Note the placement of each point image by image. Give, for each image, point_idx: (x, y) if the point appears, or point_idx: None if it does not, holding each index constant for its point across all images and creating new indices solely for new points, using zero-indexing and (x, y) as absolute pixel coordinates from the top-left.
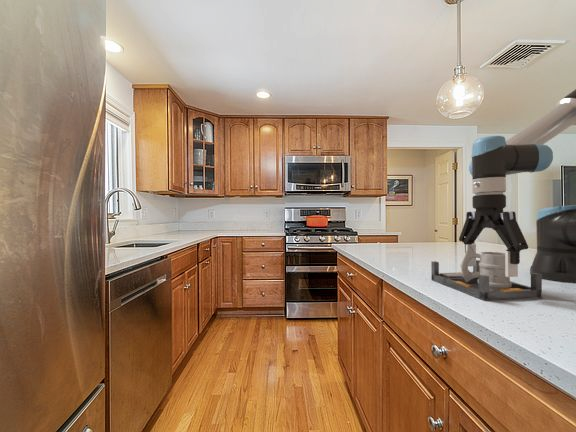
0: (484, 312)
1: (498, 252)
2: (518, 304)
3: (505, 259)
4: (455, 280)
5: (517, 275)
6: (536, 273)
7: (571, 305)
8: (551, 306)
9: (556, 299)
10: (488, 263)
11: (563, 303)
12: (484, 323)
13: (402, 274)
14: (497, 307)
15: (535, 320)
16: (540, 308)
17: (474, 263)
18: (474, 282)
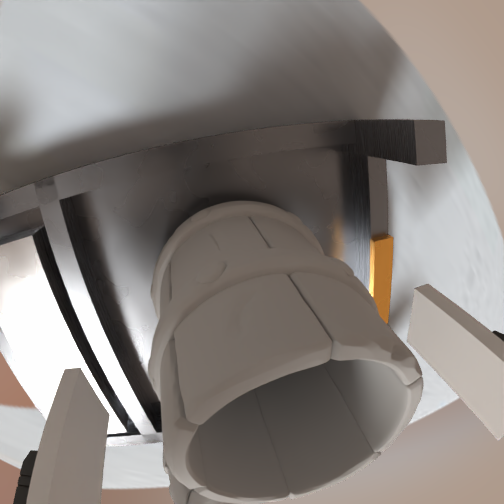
0: (424, 387)
1: (224, 393)
2: (412, 282)
3: (465, 402)
4: (145, 405)
5: (431, 288)
6: (426, 133)
7: (437, 100)
8: (442, 184)
9: (378, 75)
10: (325, 425)
11: (421, 104)
12: (453, 396)
13: (24, 459)
14: (413, 353)
15: (480, 310)
16: (447, 239)
17: (82, 392)
18: (106, 309)
